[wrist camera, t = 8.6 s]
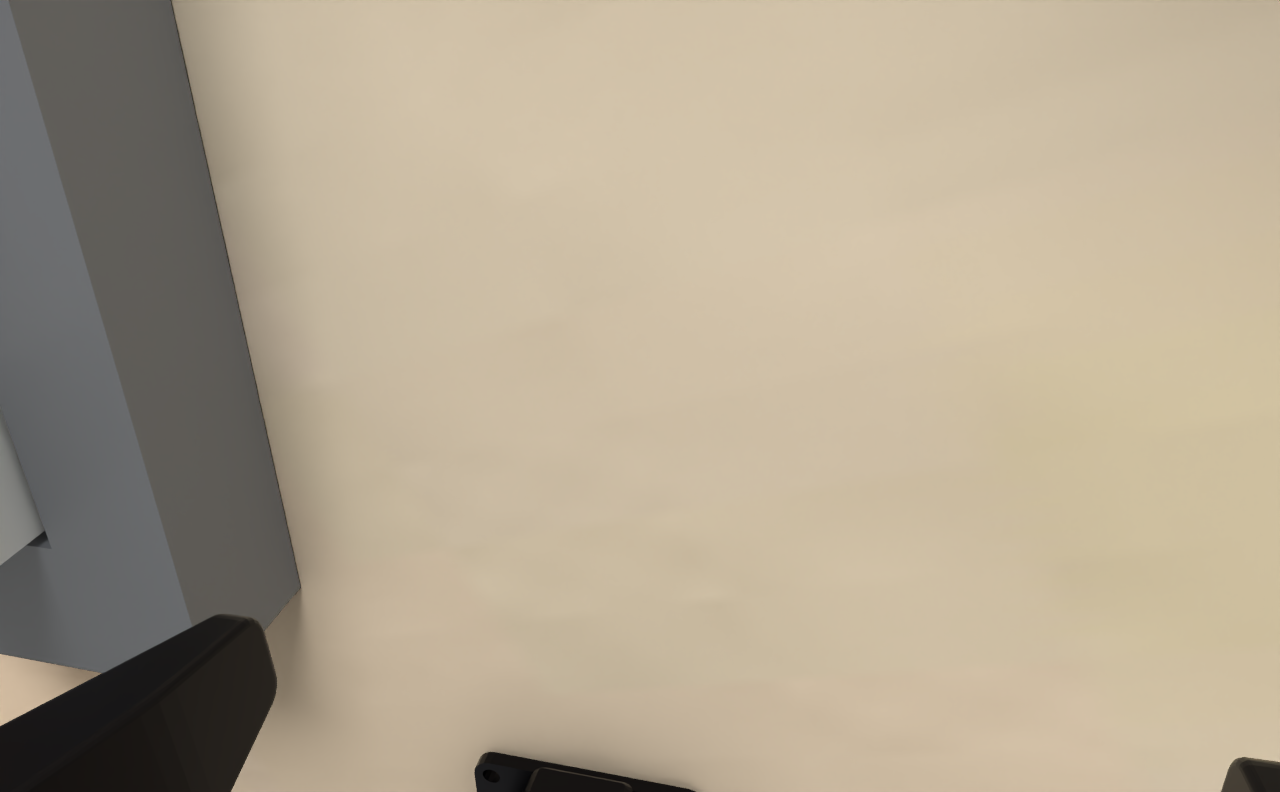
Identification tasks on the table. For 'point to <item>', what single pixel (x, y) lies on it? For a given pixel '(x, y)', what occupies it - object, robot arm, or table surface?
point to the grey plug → (15, 500)
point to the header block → (122, 348)
